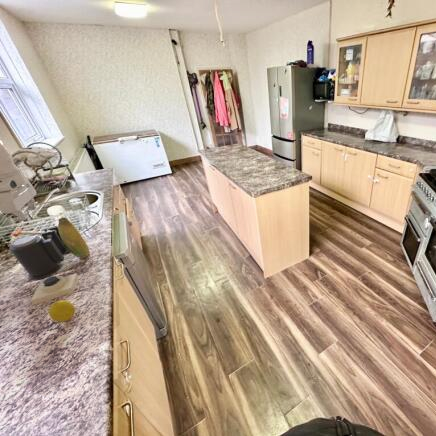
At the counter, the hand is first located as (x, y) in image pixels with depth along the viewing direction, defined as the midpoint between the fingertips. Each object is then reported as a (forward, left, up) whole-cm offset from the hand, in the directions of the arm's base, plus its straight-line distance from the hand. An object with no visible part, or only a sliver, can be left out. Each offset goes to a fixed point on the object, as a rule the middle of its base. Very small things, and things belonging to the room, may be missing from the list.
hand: (29, 214), depth 91 cm
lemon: (+11, -42, -23) cm, 49 cm away
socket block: (+4, -23, -23) cm, 33 cm away
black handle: (-1, +8, -23) cm, 24 cm away
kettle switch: (-6, +8, -12) cm, 16 cm away
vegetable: (+9, -4, -23) cm, 25 cm away
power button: (+4, -23, -20) cm, 30 cm away
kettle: (-3, -7, -23) cm, 24 cm away
